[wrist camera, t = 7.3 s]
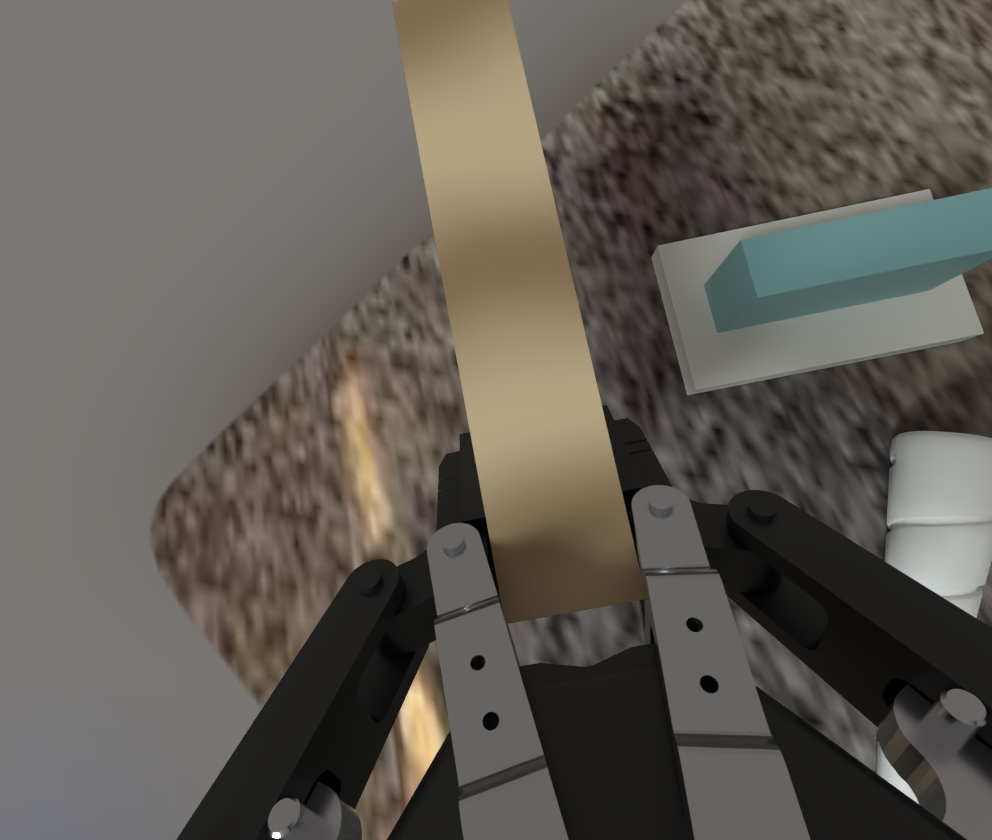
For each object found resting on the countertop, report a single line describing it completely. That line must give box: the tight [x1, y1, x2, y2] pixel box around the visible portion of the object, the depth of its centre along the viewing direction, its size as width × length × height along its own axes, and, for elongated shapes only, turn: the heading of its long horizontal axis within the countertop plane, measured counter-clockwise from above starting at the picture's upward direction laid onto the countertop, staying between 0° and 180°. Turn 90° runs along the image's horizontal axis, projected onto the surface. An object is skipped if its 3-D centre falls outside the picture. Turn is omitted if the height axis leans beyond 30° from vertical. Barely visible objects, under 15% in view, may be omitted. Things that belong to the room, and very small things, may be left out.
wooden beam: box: [392, 0, 644, 624], centre depth 15 cm, size 16×3×8 cm, turn 11°
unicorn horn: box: [877, 431, 992, 804], centre depth 24 cm, size 5×24×5 cm, turn 165°
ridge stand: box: [651, 188, 992, 395], centre depth 26 cm, size 16×9×6 cm, turn 101°
